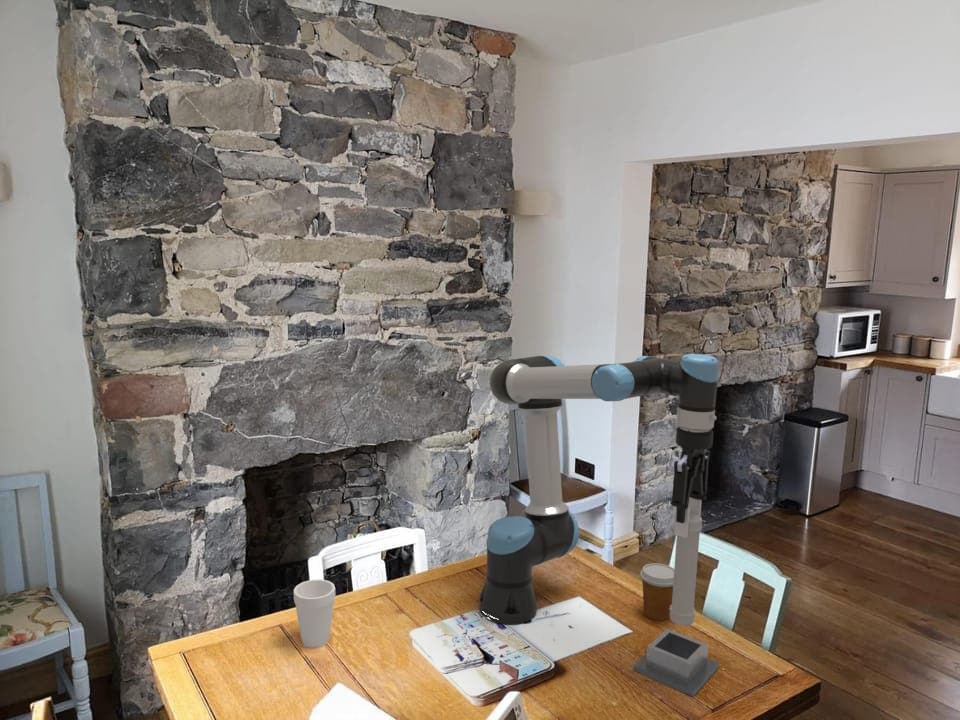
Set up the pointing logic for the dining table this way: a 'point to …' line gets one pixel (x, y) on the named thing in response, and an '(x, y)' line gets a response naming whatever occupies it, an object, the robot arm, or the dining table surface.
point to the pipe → (686, 573)
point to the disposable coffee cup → (657, 590)
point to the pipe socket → (677, 662)
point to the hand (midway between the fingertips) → (687, 531)
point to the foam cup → (314, 611)
